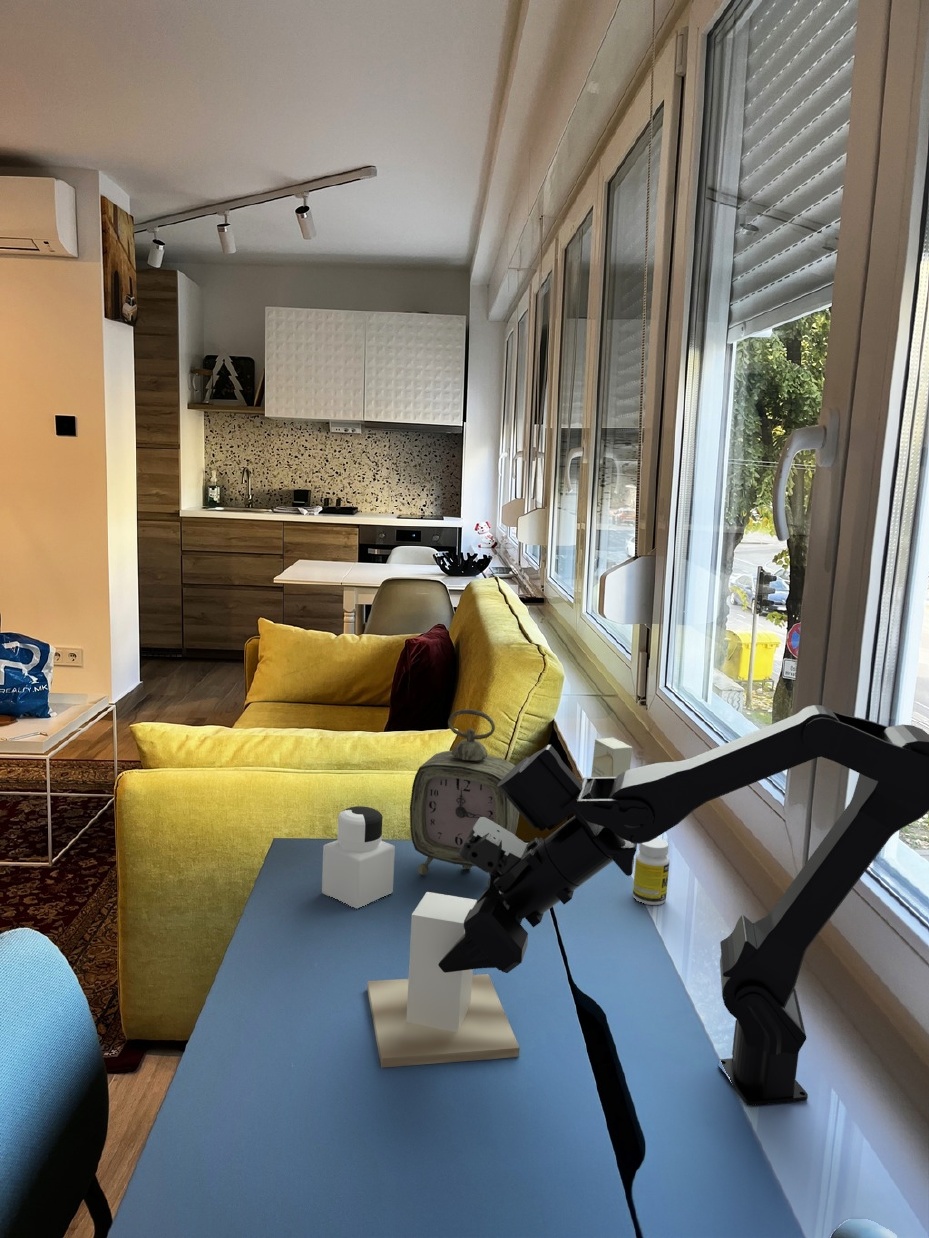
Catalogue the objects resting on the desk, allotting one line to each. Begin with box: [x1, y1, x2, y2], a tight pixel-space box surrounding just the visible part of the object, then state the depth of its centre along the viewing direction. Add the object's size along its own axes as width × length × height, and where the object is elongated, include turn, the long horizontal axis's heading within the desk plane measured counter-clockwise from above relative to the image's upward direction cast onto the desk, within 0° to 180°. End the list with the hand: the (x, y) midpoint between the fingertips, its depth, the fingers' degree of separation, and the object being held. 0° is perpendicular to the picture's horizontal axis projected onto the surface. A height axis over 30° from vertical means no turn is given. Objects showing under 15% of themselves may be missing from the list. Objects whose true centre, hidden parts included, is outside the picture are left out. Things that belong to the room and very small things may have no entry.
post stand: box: [366, 973, 520, 1069], centre depth 98 cm, size 14×14×4 cm
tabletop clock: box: [409, 708, 520, 886], centre depth 133 cm, size 14×9×25 cm, turn 73°
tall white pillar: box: [406, 891, 478, 1032], centre depth 97 cm, size 6×6×12 cm
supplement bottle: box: [632, 837, 670, 906], centre depth 130 cm, size 5×5×8 cm
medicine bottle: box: [321, 805, 396, 908], centre depth 126 cm, size 7×7×12 cm
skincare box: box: [590, 737, 633, 777], centre depth 166 cm, size 6×4×12 cm
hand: (452, 946), depth 97 cm, fingers open, 9 cm apart
